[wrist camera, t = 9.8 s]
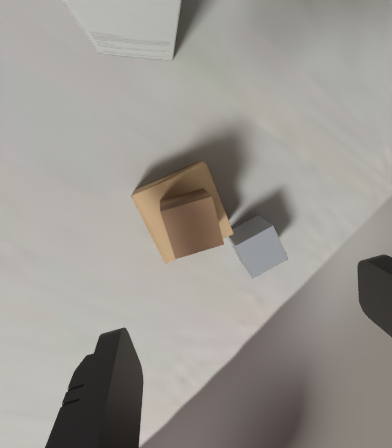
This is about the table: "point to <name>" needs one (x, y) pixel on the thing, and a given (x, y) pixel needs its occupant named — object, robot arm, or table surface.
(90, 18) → the supplement box
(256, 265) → the grey painted cube
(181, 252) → the walnut cube
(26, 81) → the table surface
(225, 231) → the oak base block
